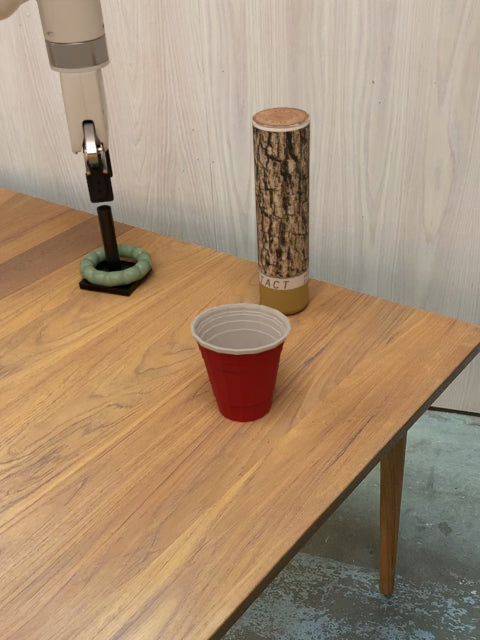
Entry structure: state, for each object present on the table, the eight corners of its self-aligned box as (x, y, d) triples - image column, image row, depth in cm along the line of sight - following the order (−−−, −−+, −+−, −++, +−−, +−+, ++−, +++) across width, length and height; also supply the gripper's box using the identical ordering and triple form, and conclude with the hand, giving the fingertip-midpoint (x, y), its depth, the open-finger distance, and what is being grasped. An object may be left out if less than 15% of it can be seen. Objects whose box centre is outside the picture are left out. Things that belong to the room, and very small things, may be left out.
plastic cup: (306, 395, 93) (306, 307, 85) (268, 450, 86) (265, 360, 78) (225, 375, 97) (218, 289, 88) (183, 426, 90) (171, 337, 81)
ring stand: (79, 289, 113) (63, 216, 106) (105, 263, 119) (91, 193, 111) (129, 296, 111) (116, 223, 104) (152, 270, 117) (142, 199, 109)
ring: (68, 282, 113) (65, 270, 112) (103, 250, 120) (100, 238, 119) (132, 293, 110) (130, 280, 109) (164, 259, 117) (162, 247, 116)
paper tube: (283, 286, 112) (280, 103, 95) (318, 303, 108) (322, 115, 91) (249, 305, 109) (240, 118, 92) (284, 322, 105) (281, 131, 88)
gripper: (50, 36, 104) (76, 168, 116) (44, 74, 91) (74, 218, 103) (107, 31, 105) (127, 163, 117) (108, 69, 92) (131, 212, 104)
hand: (102, 188), depth 110 cm, fingers open, 7 cm apart
